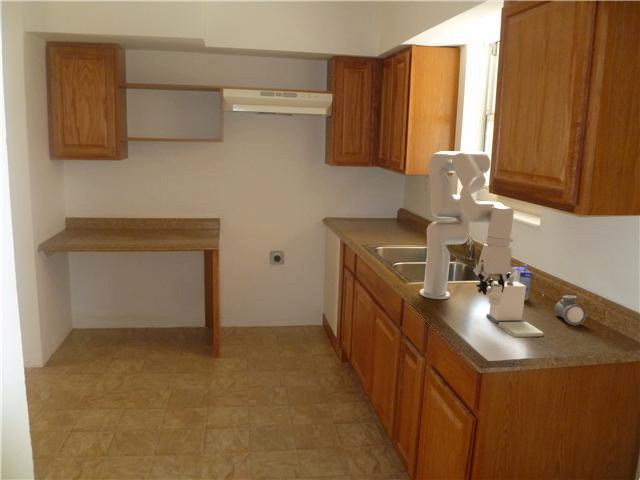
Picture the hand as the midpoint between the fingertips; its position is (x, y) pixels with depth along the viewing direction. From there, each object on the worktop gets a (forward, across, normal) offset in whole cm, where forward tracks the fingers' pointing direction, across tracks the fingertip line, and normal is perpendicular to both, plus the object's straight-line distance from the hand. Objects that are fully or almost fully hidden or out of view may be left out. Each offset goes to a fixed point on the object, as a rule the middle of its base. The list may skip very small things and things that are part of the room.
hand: (491, 290), depth 197 cm
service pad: (+14, -12, +3) cm, 18 cm away
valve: (+3, 0, 0) cm, 3 cm away
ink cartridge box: (+15, -34, -35) cm, 51 cm away
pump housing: (+14, -12, -7) cm, 20 cm away
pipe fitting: (+14, -37, -6) cm, 40 cm away
